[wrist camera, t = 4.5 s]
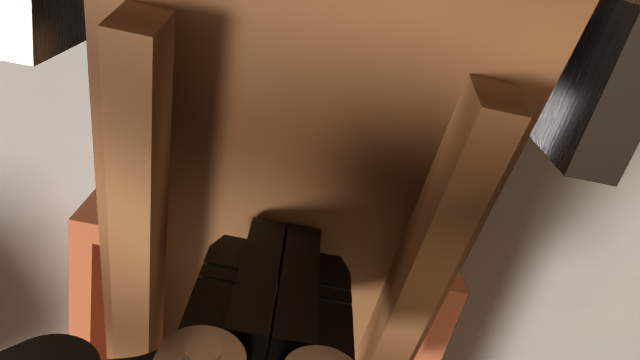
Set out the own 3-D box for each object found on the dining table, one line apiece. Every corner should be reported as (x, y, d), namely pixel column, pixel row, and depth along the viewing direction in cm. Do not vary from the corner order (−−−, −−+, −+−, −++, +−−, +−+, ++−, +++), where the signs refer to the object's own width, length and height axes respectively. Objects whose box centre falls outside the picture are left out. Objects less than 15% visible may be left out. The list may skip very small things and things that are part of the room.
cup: (133, 144, 24) (68, 219, 18) (437, 205, 25) (468, 294, 19) (120, 370, 30) (68, 481, 24) (364, 411, 31) (370, 527, 25)
